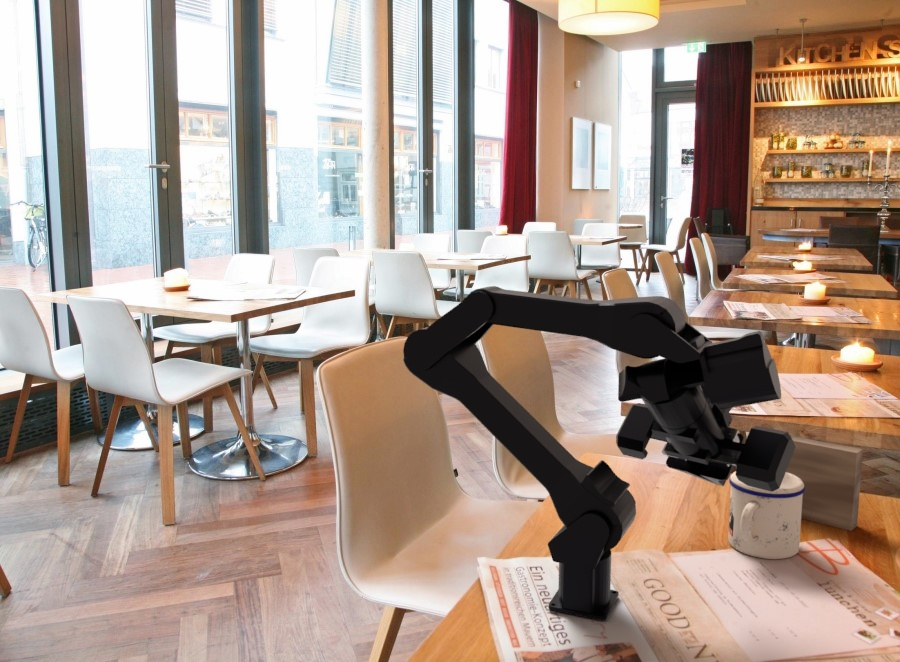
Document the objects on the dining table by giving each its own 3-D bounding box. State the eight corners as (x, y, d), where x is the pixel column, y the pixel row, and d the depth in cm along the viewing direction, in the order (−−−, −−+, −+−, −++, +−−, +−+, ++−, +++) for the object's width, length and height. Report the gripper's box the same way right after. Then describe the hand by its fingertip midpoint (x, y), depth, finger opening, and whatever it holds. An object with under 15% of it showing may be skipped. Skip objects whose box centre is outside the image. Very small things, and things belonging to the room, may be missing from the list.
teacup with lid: (741, 526, 110) (745, 445, 109) (810, 544, 105) (815, 458, 103) (706, 555, 101) (710, 467, 99) (780, 576, 95) (785, 482, 94)
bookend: (851, 530, 109) (856, 453, 107) (757, 506, 118) (761, 434, 116) (857, 525, 110) (862, 449, 109) (764, 502, 119) (768, 431, 118)
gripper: (794, 357, 80) (827, 440, 89) (632, 336, 93) (676, 411, 102) (755, 449, 76) (794, 527, 85) (591, 414, 89) (641, 485, 98)
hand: (722, 482), depth 93 cm, fingers closed
